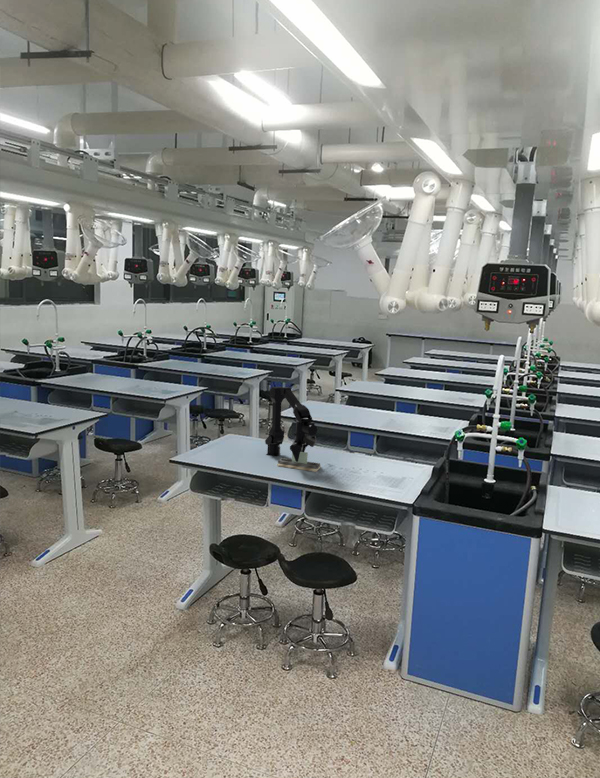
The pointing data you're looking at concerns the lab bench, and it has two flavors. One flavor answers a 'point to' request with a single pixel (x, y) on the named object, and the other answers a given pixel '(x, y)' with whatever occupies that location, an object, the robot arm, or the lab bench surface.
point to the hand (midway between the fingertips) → (299, 459)
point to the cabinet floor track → (299, 465)
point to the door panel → (301, 458)
